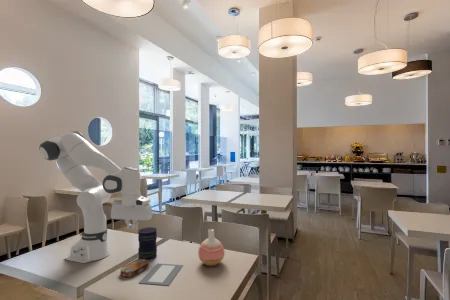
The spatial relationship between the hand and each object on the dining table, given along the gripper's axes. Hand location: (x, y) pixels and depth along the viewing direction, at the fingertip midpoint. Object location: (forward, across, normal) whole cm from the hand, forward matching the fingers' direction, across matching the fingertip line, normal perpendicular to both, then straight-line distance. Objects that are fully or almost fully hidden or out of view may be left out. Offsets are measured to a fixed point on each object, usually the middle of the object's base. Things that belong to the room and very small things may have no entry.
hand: (131, 228), depth 119 cm
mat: (+21, +16, 0) cm, 26 cm away
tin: (+20, +5, 0) cm, 21 cm away
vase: (+21, +37, +14) cm, 45 cm away
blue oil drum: (+21, 0, +17) cm, 27 cm away
